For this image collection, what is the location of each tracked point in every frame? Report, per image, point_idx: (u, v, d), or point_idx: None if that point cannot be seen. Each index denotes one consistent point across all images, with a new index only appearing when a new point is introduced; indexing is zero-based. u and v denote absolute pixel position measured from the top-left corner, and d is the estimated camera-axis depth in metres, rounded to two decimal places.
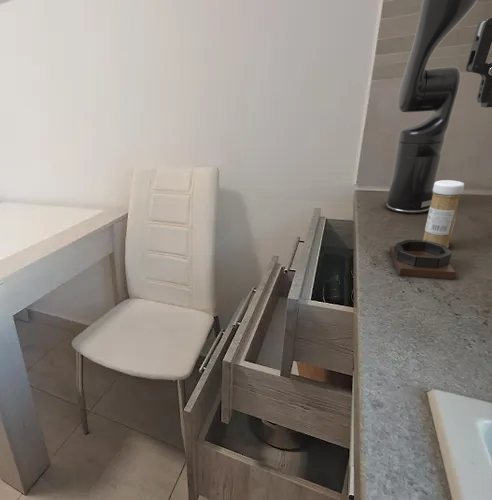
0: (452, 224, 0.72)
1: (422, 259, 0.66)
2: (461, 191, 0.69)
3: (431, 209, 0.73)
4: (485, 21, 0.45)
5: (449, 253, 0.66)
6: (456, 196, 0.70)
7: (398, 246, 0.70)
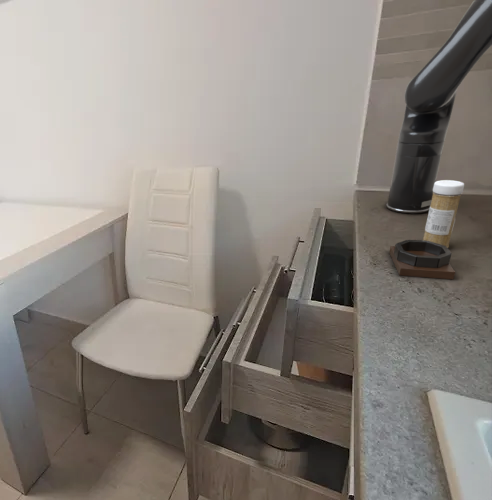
0: (452, 224, 0.72)
1: (422, 259, 0.66)
2: (461, 191, 0.69)
3: (431, 209, 0.73)
4: None
5: (449, 253, 0.66)
6: (456, 196, 0.70)
7: (398, 246, 0.70)
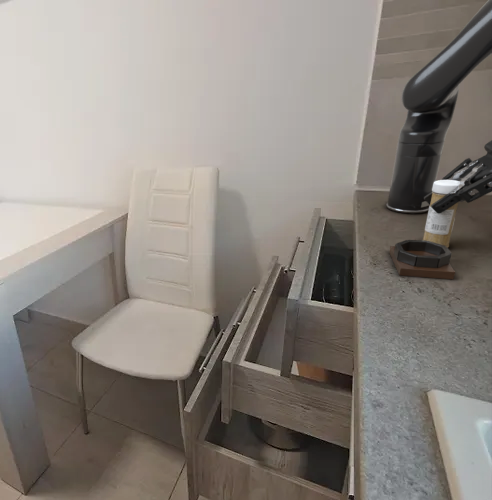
0: (452, 223, 0.72)
1: (422, 259, 0.66)
2: None
3: (431, 208, 0.73)
4: None
5: (449, 253, 0.66)
6: None
7: (398, 246, 0.70)
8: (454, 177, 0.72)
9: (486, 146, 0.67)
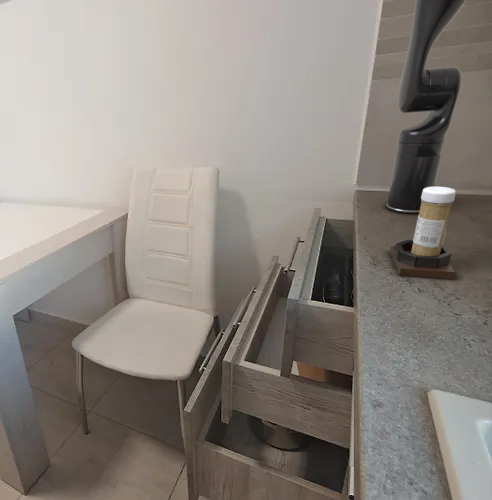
0: (443, 235, 0.65)
1: (422, 259, 0.66)
2: (452, 199, 0.62)
3: (419, 219, 0.66)
4: None
5: (449, 253, 0.66)
6: (447, 205, 0.62)
7: (398, 246, 0.70)
8: None
9: None
